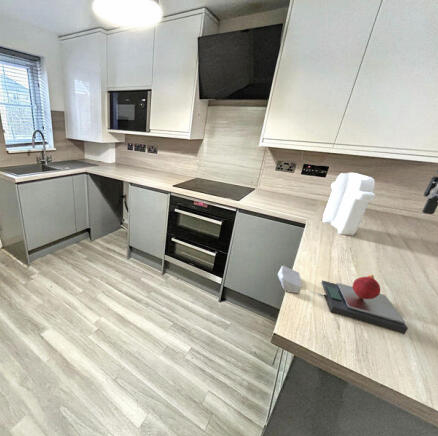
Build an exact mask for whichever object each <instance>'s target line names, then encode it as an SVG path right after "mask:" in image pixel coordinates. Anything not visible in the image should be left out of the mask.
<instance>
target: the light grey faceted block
mask: <svg viewBox="0 0 438 436" xmlns="http://www.w3.org/2000/svg"><path fill="white" fill-rule="evenodd" d="M277 277H278V280H279V282H280V285H281V287H282V289H283V290H284V291H285V292H287V293H292V294H293V293H294V294H299V293H300V292H301V289H302V279H301V275H300V272H299V271H296V270H294V269H291V268H289V267H287V266H285V265H281V267H280V269H279V271H278V272H277Z"/></svg>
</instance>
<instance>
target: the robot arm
mask: <svg viewBox="0 0 438 436" xmlns="http://www.w3.org/2000/svg"><path fill="white" fill-rule="evenodd" d="M436 174H437V175H438V170H437V171H436ZM423 197H425V198H426V199H425V200H426V202H425V204H424V206H423V208H422V211H421V212H422V213H423V214H426V215H433V214H435V212H436V210H437V208H438V176H435V175H434V176H432V177H431V179H430V181H429V183H428V185H427V187H426V189H425V191H424V193H423Z"/></svg>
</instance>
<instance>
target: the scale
mask: <svg viewBox="0 0 438 436" xmlns="http://www.w3.org/2000/svg"><path fill="white" fill-rule="evenodd" d="M336 284H337V283H334V282H331V281H327V280H326V281H325V280H321V285H322V287H323V291H324V294H323V297H324V298H325V301H326V305H327V306H328V310H329V311H330V312H329V313H331V314H335V315H337V316H338V315H339V316H342V317H345V318H349V319H353V320H355V321H359V322H362V323H366V324H369V325H373V326H376V327H379V328H383V329H386V330H390V331H392V332H397V333H400V334H403V335H405V334H406V333H407V331H408V329H409V327H408V326H407V324H406V322H405V323H404V325H403V324H399V323H396V322H392V321H389V320H385V319H382V318H378V317H375V316H371V315H368V314H364V313H361V312H357V311H354V310H350V309H347V307H346V305H345V303H344V301H343V299H342V297H341V295H340V293H339V291H338V288H337V286H336Z"/></svg>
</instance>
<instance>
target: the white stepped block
mask: <svg viewBox="0 0 438 436" xmlns="http://www.w3.org/2000/svg"><path fill="white" fill-rule="evenodd" d="M375 185H376V182H375V179H374V178H373V177H372V176H369V175H365V174H360V173H358V172H341V173H340V174H338V175H337V177H336V180H335V181H333V182H332V183H331V185H330V188H331V192H330V195H329V199H328V200H327V203H326V206H325V209H324V212H323V216H322V223H326V224H330V225H331V226H332V227H334V228H336V229H337V234H339V235H343V236H354V235H355V234H356V232H357V231H358V229H359V227H360V224H361V222H362V220H363V217H364V215H365V212H366V210H367V207H368V205H369V202H372V201H374V200H375V197H376V194H375V193H374V190H375Z"/></svg>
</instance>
